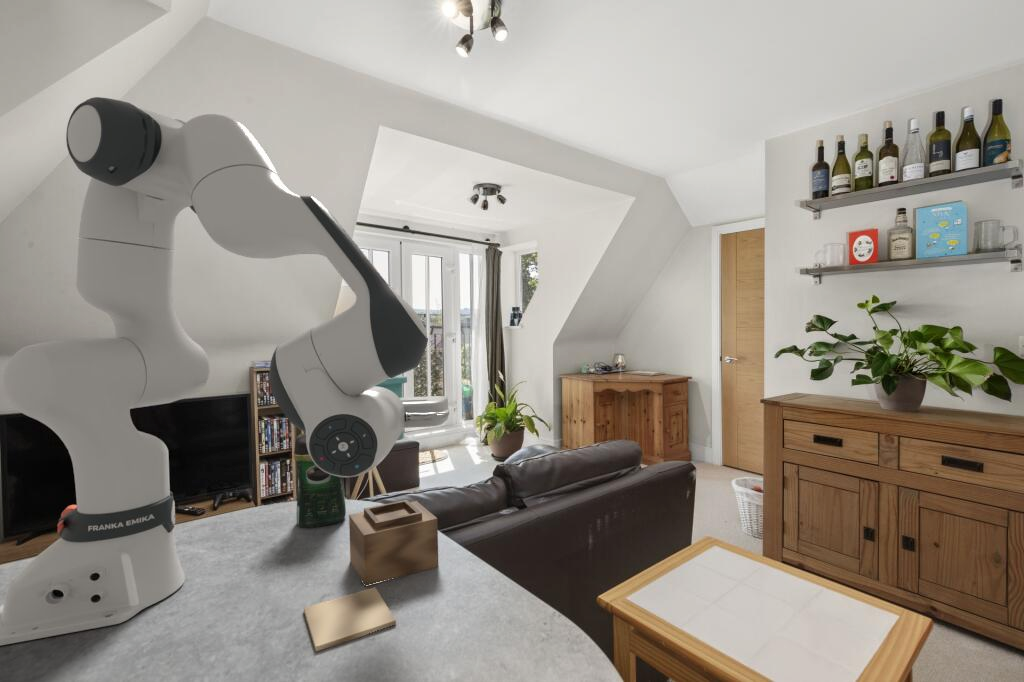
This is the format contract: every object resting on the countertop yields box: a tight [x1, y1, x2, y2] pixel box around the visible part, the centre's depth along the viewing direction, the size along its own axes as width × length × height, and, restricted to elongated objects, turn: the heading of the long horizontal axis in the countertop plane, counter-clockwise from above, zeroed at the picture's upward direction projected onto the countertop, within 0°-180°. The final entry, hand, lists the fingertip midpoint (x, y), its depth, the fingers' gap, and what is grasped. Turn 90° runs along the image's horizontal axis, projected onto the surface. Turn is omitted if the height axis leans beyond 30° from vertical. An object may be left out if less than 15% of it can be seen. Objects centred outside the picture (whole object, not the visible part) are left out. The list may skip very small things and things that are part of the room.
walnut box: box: [348, 499, 439, 587], centre depth 82 cm, size 12×10×9 cm
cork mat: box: [303, 586, 397, 652], centre depth 66 cm, size 10×10×1 cm
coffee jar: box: [293, 432, 347, 528], centre depth 101 cm, size 10×8×19 cm
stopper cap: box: [376, 375, 408, 441], centre depth 80 cm, size 6×6×10 cm
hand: (388, 404), depth 81 cm, fingers closed on stopper cap, 5 cm apart
